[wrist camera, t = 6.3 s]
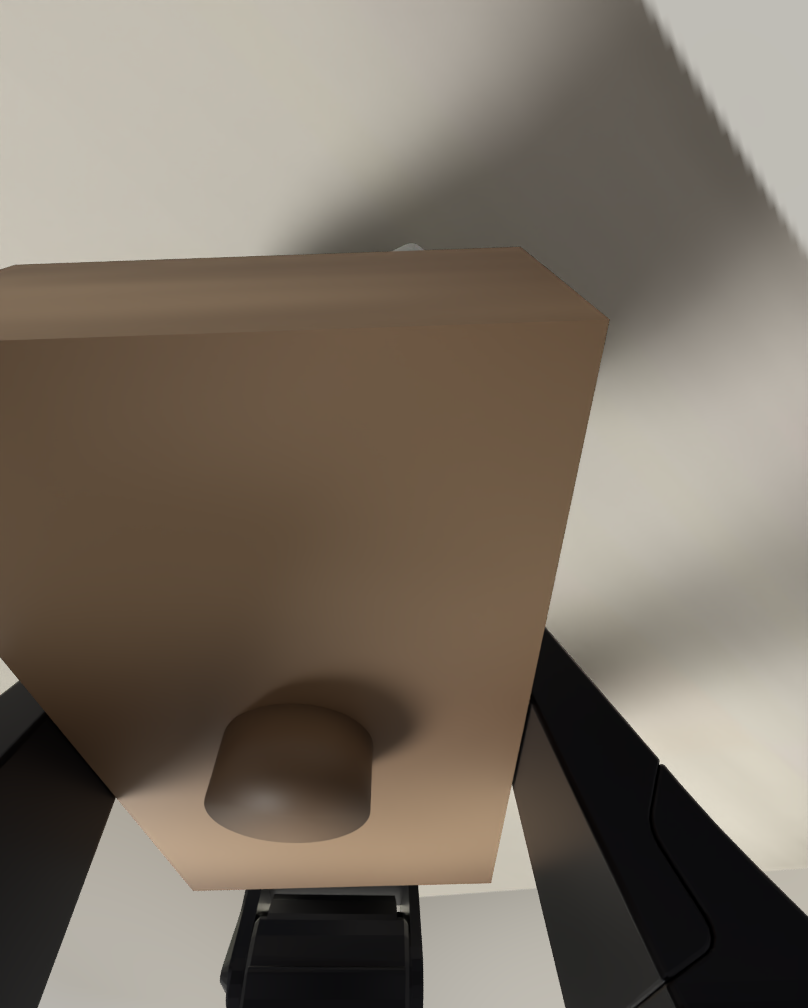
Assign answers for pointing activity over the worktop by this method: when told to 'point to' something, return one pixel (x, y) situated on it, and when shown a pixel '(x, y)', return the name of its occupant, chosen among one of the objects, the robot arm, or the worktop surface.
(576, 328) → the lid
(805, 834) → the worktop surface
